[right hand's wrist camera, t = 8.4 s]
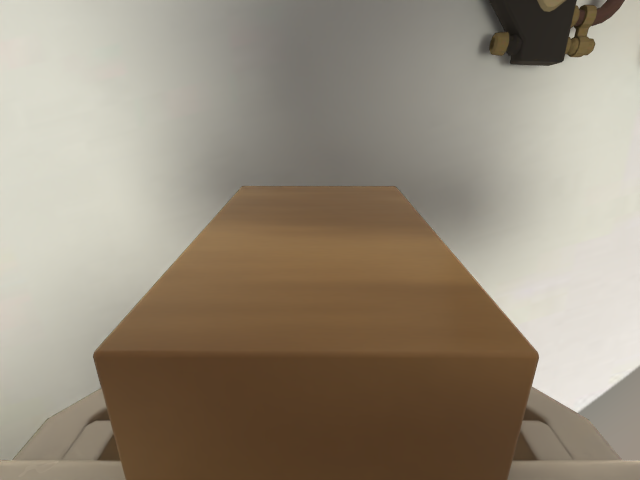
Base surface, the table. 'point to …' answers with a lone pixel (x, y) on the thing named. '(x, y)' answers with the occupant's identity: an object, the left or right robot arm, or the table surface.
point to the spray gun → (546, 29)
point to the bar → (316, 350)
